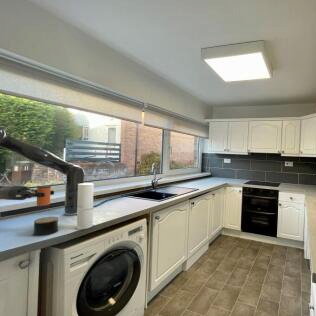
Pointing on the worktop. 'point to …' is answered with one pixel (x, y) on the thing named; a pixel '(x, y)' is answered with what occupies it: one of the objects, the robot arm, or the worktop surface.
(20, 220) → the worktop surface
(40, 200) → the orange tin
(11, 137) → the robot arm
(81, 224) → the cylindrical container
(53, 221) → the black canister
